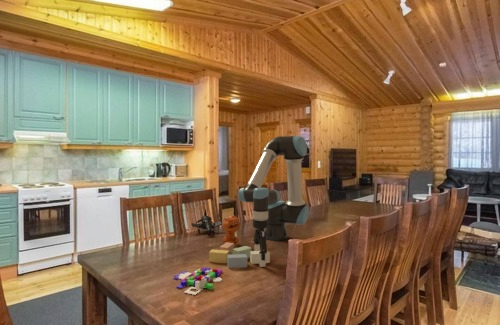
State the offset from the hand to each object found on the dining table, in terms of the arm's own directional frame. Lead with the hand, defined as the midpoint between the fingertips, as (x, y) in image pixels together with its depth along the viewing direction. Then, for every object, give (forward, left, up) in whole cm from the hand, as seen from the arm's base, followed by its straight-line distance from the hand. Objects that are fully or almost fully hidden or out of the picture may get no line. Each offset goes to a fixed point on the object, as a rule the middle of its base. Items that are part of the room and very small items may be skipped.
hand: (259, 261), depth 155 cm
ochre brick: (+20, -4, 0) cm, 20 cm away
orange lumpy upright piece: (+11, -29, 0) cm, 31 cm away
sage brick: (+8, -7, 0) cm, 11 cm away
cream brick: (0, 0, 0) cm, 0 cm away
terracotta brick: (+15, -14, 0) cm, 21 cm away
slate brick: (+12, +4, 0) cm, 12 cm away
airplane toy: (+24, -57, 0) cm, 62 cm away
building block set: (+31, +18, -1) cm, 36 cm away
